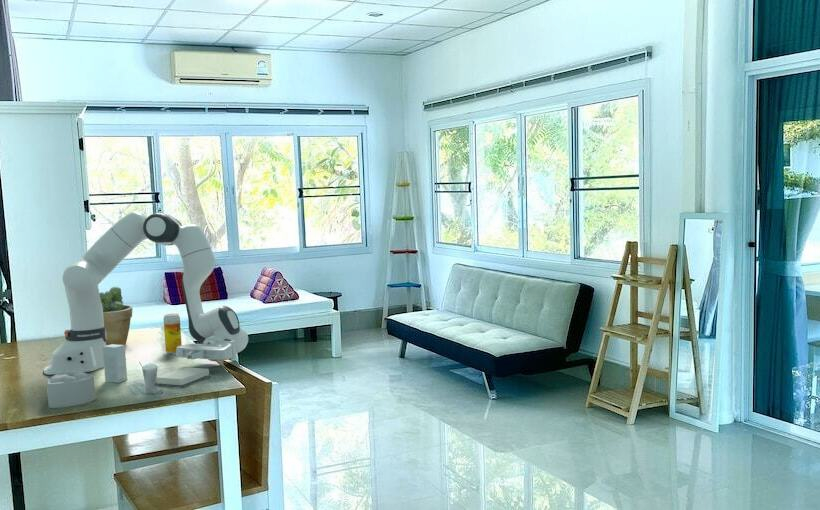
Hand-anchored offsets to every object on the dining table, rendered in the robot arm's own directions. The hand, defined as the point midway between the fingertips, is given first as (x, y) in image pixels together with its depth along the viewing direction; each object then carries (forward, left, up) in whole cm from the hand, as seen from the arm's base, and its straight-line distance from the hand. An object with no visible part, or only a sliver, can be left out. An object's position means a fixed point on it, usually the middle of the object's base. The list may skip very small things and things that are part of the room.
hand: (189, 356), depth 250 cm
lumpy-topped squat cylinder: (-36, -11, -7) cm, 39 cm away
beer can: (-1, +45, -7) cm, 45 cm away
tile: (+2, +2, -6) cm, 6 cm away
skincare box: (-23, +9, -7) cm, 26 cm away
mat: (-3, -3, -7) cm, 8 cm away
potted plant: (-23, +74, -7) cm, 78 cm away
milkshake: (-14, -13, -7) cm, 21 cm away
